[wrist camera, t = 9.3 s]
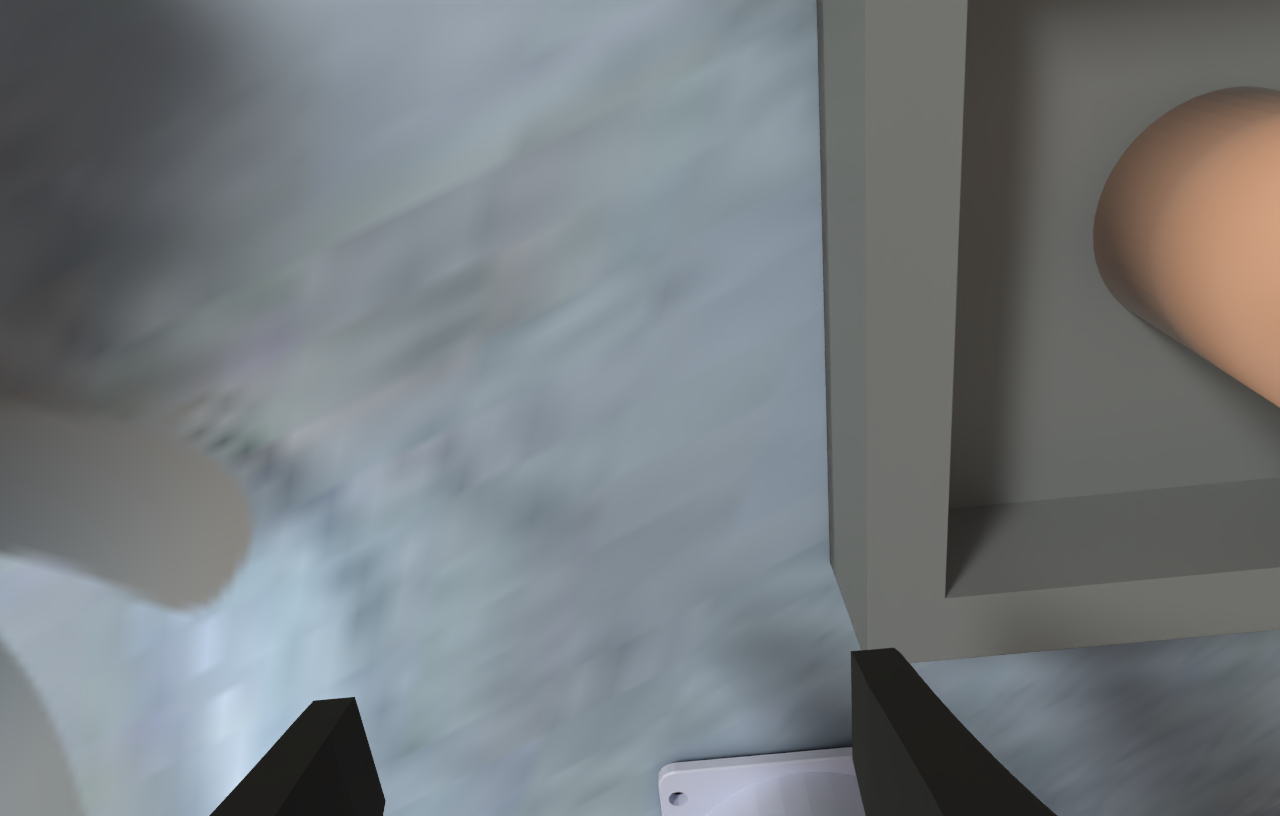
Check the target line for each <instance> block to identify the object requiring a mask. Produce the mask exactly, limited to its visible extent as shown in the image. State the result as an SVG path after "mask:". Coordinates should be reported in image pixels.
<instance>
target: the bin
mask: <svg viewBox="0 0 1280 816" xmlns="http://www.w3.org/2000/svg"><path fill="white" fill-rule="evenodd" d="M817 29H818V71H819V114H820V157H821V200H822V242H823V285H824V328H825V370H826V413H827V456H828V499H829V541H830V563H831V566H832V569H833V572H834V575H835V577H836V580H837V583H838V586H839V589H840V591H841V594H842V597H843V600H844V603H845V605H846V608H847V611H848V614H849V617H850V620H851V622H852V625H853V628H854V631H855V634H856V636H857V639H858V642H859V645H860V648H861V650H872V649H883V648H893V647H894V648H895V649H896V650H898V651H899V652H900V653H901V654H902V655H903V656H904V657H905V659H906V660H907V661H908V662H909V663H917V662H928V661H939V660H950V659H961V658H972V657H983V656H994V655H1005V654H1016V653H1027V652H1038V651H1049V650H1059V649H1070V648H1081V647H1092V646H1103V645H1114V644H1125V643H1136V642H1147V641H1158V640H1169V639H1180V638H1191V637H1202V636H1213V635H1224V634H1235V633H1246V632H1256V631H1267V630H1278V629H1280V407H1278V406H1276V405H1275V404H1273V403H1272V402H1270V401H1269V400H1267V399H1266V398H1264V397H1263V396H1261V395H1259V394H1258V393H1256V392H1255V391H1253V390H1252V389H1250V388H1249V387H1247V386H1245V385H1244V384H1242V383H1241V382H1239V381H1238V380H1236V379H1235V378H1233V377H1231V376H1230V375H1228V374H1227V373H1225V372H1224V371H1222V370H1221V369H1219V368H1218V367H1216V366H1214V365H1213V364H1211V363H1210V362H1208V361H1207V360H1205V359H1204V358H1202V357H1200V356H1199V355H1197V354H1196V353H1194V352H1193V351H1191V350H1190V349H1188V348H1187V347H1185V346H1183V345H1182V344H1180V343H1179V342H1177V341H1176V340H1174V339H1173V338H1171V337H1169V336H1168V335H1166V334H1165V333H1163V332H1162V331H1160V330H1159V329H1157V328H1155V327H1154V326H1152V325H1151V324H1149V323H1148V322H1146V321H1145V320H1143V319H1142V318H1140V317H1138V316H1137V315H1135V314H1134V313H1132V312H1131V311H1130V310H1128V309H1127V308H1125V307H1124V306H1123V305H1122V304H1121V303H1120V302H1118V301H1117V300H1116V299H1115V298H1114V297H1113V295H1112V294H1111V292H1110V291H1109V290H1108V288H1107V287H1106V285H1105V283H1104V281H1103V279H1102V277H1101V275H1100V273H1099V270H1098V267H1097V264H1096V260H1095V254H1094V248H1093V228H1094V220H1095V214H1096V210H1097V206H1098V202H1099V199H1100V196H1101V193H1102V191H1103V188H1104V186H1105V183H1106V181H1107V180H1108V178H1109V176H1110V174H1111V172H1112V170H1113V168H1114V167H1115V165H1116V164H1117V162H1118V161H1119V159H1120V158H1121V156H1122V155H1123V153H1124V152H1125V151H1126V150H1127V148H1128V147H1129V146H1130V145H1131V144H1132V142H1133V141H1134V140H1135V139H1136V138H1137V137H1138V136H1139V135H1140V134H1141V133H1142V132H1143V131H1144V130H1145V129H1146V128H1147V127H1148V126H1150V125H1151V124H1152V123H1153V122H1155V121H1156V120H1157V119H1159V118H1160V117H1161V116H1162V115H1164V114H1166V113H1167V112H1169V111H1170V110H1172V109H1173V108H1175V107H1177V106H1178V105H1180V104H1182V103H1184V102H1186V101H1188V100H1190V99H1192V98H1195V97H1197V96H1200V95H1203V94H1206V93H1209V92H1212V91H1216V90H1221V89H1225V88H1232V87H1243V86H1248V87H1263V88H1269V89H1275V90H1280V0H817Z"/></svg>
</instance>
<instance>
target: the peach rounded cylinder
mask: <svg viewBox="0 0 1280 816" xmlns="http://www.w3.org/2000/svg"><path fill="white" fill-rule="evenodd" d="M1093 248H1094V254H1095V260H1096V264H1097V267H1098V270H1099V273H1100V275H1101V277H1102V279H1103V281H1104V283H1105V285H1106V287H1107V288H1108V290H1109V291H1110V292H1111V294H1112V295H1113V297H1114V298H1115V299H1116V300H1117V301H1118V302H1120V303H1121V304H1122V305H1123V306H1124V307H1125V308H1127V309H1128V310H1130V311H1131V312H1132V313H1134V314H1135V315H1137V316H1138V317H1140V318H1142V319H1143V320H1145V321H1146V322H1148V323H1149V324H1151V325H1152V326H1154V327H1155V328H1157V329H1159V330H1160V331H1162V332H1163V333H1165V334H1166V335H1168V336H1169V337H1171V338H1173V339H1174V340H1176V341H1177V342H1179V343H1180V344H1182V345H1183V346H1185V347H1187V348H1188V349H1190V350H1191V351H1193V352H1194V353H1196V354H1197V355H1199V356H1200V357H1202V358H1204V359H1205V360H1207V361H1208V362H1210V363H1211V364H1213V365H1214V366H1216V367H1218V368H1219V369H1221V370H1222V371H1224V372H1225V373H1227V374H1228V375H1230V376H1231V377H1233V378H1235V379H1236V380H1238V381H1239V382H1241V383H1242V384H1244V385H1245V386H1247V387H1249V388H1250V389H1252V390H1253V391H1255V392H1256V393H1258V394H1259V395H1261V396H1263V397H1264V398H1266V399H1267V400H1269V401H1270V402H1272V403H1273V404H1275V405H1276V406H1278V407H1280V90H1275V89H1269V88H1263V87H1248V86H1243V87H1232V88H1225V89H1221V90H1216V91H1212V92H1209V93H1206V94H1203V95H1200V96H1197V97H1195V98H1192V99H1190V100H1188V101H1186V102H1184V103H1182V104H1180V105H1178V106H1177V107H1175V108H1173V109H1172V110H1170V111H1169V112H1167V113H1166V114H1164V115H1162V116H1161V117H1160V118H1159V119H1157V120H1156V121H1155V122H1153V123H1152V124H1151V125H1150V126H1148V127H1147V128H1146V129H1145V130H1144V131H1143V132H1142V133H1141V134H1140V135H1139V136H1138V137H1137V138H1136V139H1135V140H1134V141H1133V142H1132V144H1131V145H1130V146H1129V147H1128V148H1127V150H1126V151H1125V152H1124V153H1123V155H1122V156H1121V158H1120V159H1119V161H1118V162H1117V164H1116V165H1115V167H1114V168H1113V170H1112V172H1111V174H1110V176H1109V178H1108V180H1107V181H1106V183H1105V186H1104V188H1103V191H1102V193H1101V196H1100V199H1099V202H1098V206H1097V210H1096V214H1095V220H1094V228H1093Z"/></svg>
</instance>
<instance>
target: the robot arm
mask: <svg viewBox="0 0 1280 816" xmlns="http://www.w3.org/2000/svg"><path fill="white" fill-rule="evenodd" d="M851 684H852V747H846V748H835V749H824V750H813V751H801V752H790V753H779V754H768V755H756V756H745V757H734V758H722V759H711V760H700V761H689V762H677V763H671V764H668V765H666V766H664V767H663V768H662V769H661V770H660V772H659V775H658V785H659V793H660V801H661V809H662V816H1057V815H1056V814H1055V813H1054V812H1052V811H1051V810H1050V809H1049V808H1048V807H1047V806H1046V805H1044V804H1043V803H1042V802H1041V801H1040V800H1039V799H1038V798H1037V797H1036V796H1034V795H1033V794H1032V793H1031V792H1030V791H1029V790H1028V789H1027V788H1026V787H1025V786H1024V785H1023V784H1021V783H1020V782H1019V781H1018V780H1017V779H1016V778H1015V777H1014V776H1013V775H1012V774H1011V773H1010V772H1009V771H1008V770H1007V769H1006V768H1005V767H1004V766H1003V765H1002V764H1001V763H1000V762H999V761H997V760H996V759H995V758H994V757H993V755H992V754H991V753H990V752H989V751H988V750H987V749H986V748H985V747H984V746H983V745H982V744H981V743H980V742H979V741H978V740H977V739H976V738H975V737H974V736H973V735H972V734H971V733H970V732H969V731H968V730H967V729H966V728H965V727H964V726H963V724H962V723H961V722H960V721H959V720H958V719H957V718H956V717H955V716H954V715H953V714H952V713H951V711H950V710H949V709H948V708H947V707H946V706H945V705H944V704H943V702H942V701H941V700H940V699H939V698H938V697H937V696H936V695H935V693H934V692H933V691H932V690H931V689H930V688H929V686H928V685H927V684H926V683H925V682H924V681H923V679H922V678H921V677H920V676H919V675H918V673H917V672H916V671H915V670H914V668H913V667H912V666H911V665H910V664H909V662H908V661H907V660H906V659H905V657H904V656H903V655H902V654H901V653H900V652H899V651H898V650H896V649H895V648H894V647H893V648H883V649H872V650H861V651H851ZM676 792H682V793H683V794H680V795H675V794H672V793H676ZM384 806H385V798H384V794H383V791H382V788H381V784H380V781H379V778H378V774H377V771H376V767H375V764H374V761H373V757H372V754H371V750H370V747H369V744H368V740H367V737H366V733H365V730H364V727H363V723H362V720H361V716H360V713H359V710H358V706H357V703H356V700H355V697H350V698H339V699H328V700H317V701H313V702H312V703H311V704H310V705H309V706H308V708H307V709H306V710H305V711H304V712H303V713H302V714H301V715H300V716H299V717H298V718H297V720H296V721H295V722H294V723H293V724H292V725H291V726H290V727H289V729H288V730H287V731H286V732H285V733H284V734H283V735H282V736H281V738H280V739H279V740H278V741H277V742H276V743H275V744H274V745H273V747H272V748H271V749H270V750H269V751H268V752H267V753H266V754H265V756H264V757H263V758H262V759H261V760H260V761H259V762H258V763H257V764H256V766H255V767H254V768H253V769H252V770H251V771H250V772H249V773H248V774H247V776H246V777H245V778H244V779H243V780H242V781H241V782H240V783H239V784H238V785H237V786H236V788H235V789H234V790H233V791H232V792H231V793H230V794H229V795H228V796H227V797H226V798H225V800H224V801H223V802H222V803H221V804H220V805H219V806H218V807H217V808H216V809H215V810H214V811H213V813H212V814H211V815H210V816H383V812H384Z"/></svg>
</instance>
